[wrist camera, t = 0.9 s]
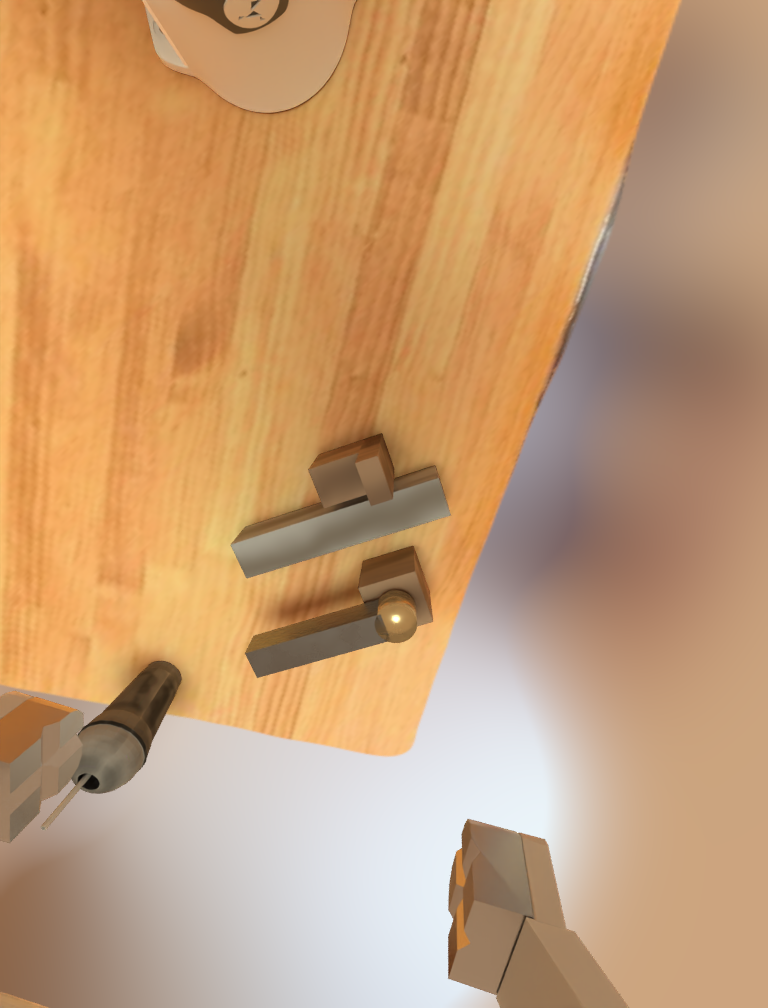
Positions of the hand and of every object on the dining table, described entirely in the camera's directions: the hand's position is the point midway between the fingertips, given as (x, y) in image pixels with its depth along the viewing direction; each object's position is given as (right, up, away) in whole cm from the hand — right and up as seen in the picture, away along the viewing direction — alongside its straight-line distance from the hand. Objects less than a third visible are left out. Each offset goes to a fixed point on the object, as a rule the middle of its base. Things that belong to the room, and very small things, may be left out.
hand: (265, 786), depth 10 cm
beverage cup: (-25, -16, +51) cm, 59 cm away
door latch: (-1, +2, +44) cm, 44 cm away
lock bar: (-2, -7, +40) cm, 40 cm away
